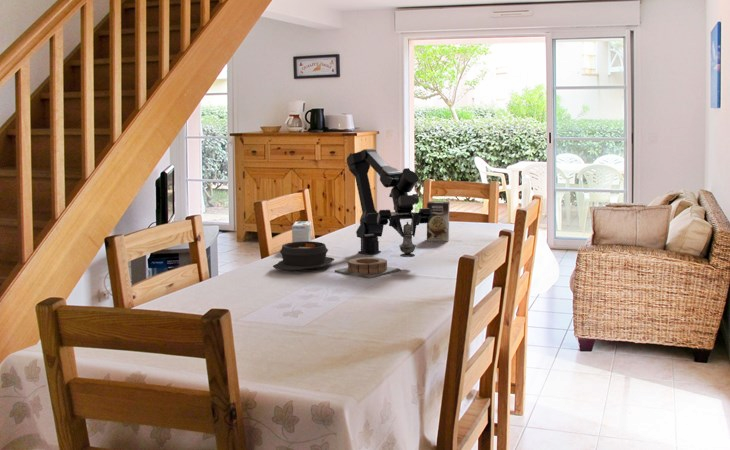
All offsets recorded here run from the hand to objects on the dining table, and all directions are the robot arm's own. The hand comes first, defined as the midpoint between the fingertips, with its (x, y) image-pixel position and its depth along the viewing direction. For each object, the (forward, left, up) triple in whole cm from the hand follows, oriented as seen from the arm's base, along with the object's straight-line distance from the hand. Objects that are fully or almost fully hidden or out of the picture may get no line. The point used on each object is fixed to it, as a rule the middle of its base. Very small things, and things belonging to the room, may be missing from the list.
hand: (408, 236), depth 281 cm
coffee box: (-28, +53, -12) cm, 61 cm away
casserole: (-29, -22, -12) cm, 38 cm away
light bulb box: (-56, +2, -12) cm, 57 cm away
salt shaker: (-1, +1, -7) cm, 7 cm away
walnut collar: (-8, -12, -11) cm, 19 cm away
